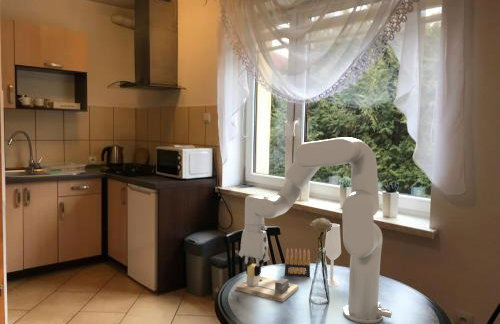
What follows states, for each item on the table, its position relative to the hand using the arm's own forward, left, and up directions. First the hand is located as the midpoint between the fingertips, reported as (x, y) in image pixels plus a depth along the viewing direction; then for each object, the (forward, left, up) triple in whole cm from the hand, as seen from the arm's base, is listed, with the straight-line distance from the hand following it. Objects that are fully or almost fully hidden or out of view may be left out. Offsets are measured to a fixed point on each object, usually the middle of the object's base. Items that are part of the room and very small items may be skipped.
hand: (253, 273), depth 152 cm
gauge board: (-5, -2, -6) cm, 8 cm away
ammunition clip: (-9, -22, -6) cm, 25 cm away
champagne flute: (-24, -22, -6) cm, 33 cm away
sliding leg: (0, -2, -4) cm, 4 cm away
